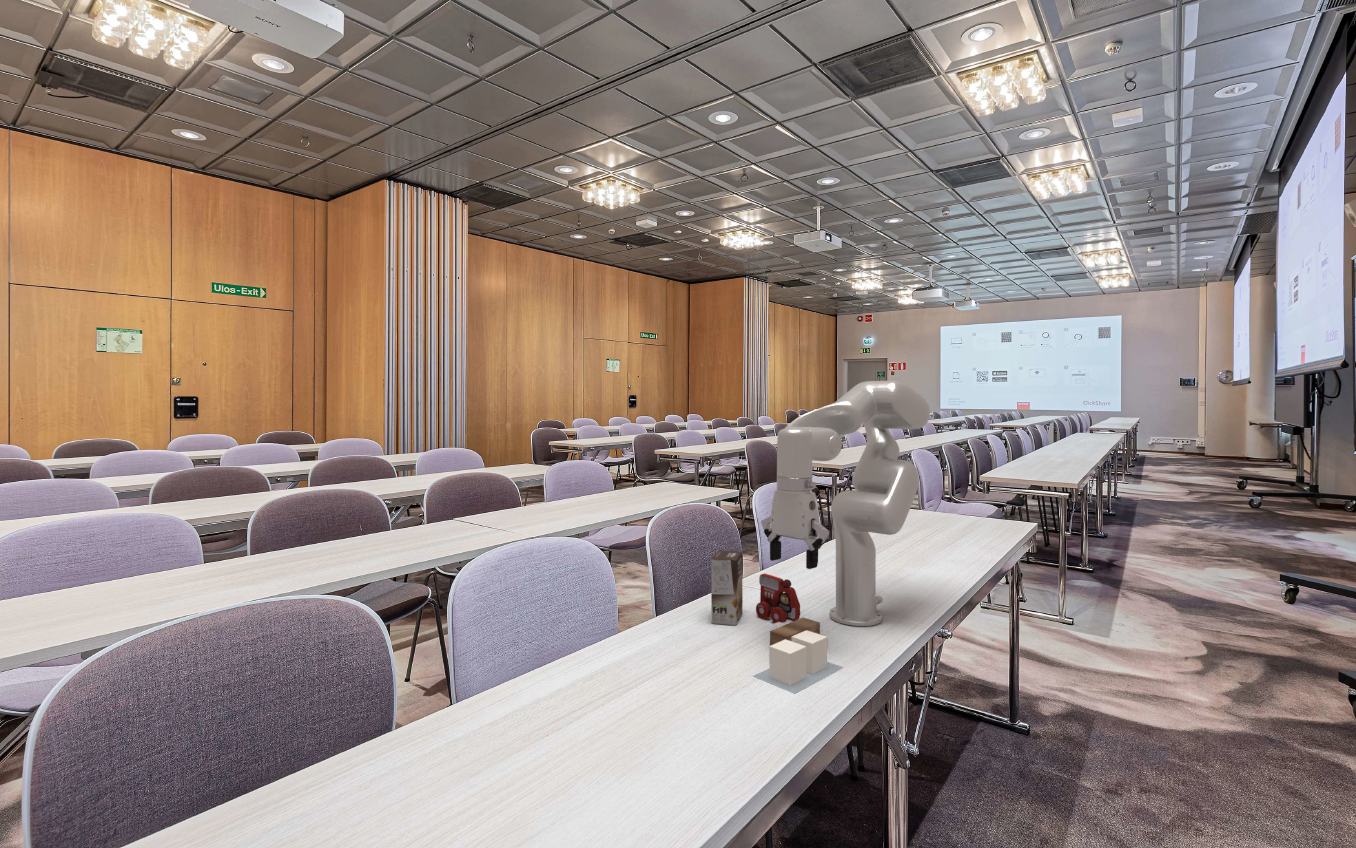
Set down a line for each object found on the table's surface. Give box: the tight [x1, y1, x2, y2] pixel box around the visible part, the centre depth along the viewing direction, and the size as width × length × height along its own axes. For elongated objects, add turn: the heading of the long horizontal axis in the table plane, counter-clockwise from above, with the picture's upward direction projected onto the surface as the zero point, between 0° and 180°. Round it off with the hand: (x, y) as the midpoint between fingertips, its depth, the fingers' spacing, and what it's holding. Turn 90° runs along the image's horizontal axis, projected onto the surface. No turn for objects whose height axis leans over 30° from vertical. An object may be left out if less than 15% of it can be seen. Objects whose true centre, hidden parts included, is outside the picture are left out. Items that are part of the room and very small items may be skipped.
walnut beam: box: [769, 617, 821, 646], centre depth 135 cm, size 12×4×5 cm, turn 133°
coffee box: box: [710, 550, 744, 626], centre depth 154 cm, size 9×6×16 cm
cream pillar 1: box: [768, 639, 806, 686], centre depth 118 cm, size 5×5×6 cm
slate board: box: [752, 661, 844, 695], centre depth 121 cm, size 16×10×1 cm, turn 133°
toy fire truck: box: [755, 573, 802, 624], centre depth 153 cm, size 7×12×10 cm, turn 38°
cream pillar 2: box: [792, 630, 828, 674], centre depth 123 cm, size 5×5×6 cm
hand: (793, 563), depth 134 cm, fingers open, 9 cm apart
